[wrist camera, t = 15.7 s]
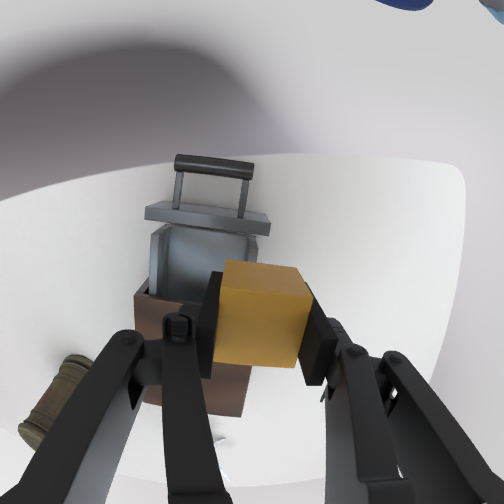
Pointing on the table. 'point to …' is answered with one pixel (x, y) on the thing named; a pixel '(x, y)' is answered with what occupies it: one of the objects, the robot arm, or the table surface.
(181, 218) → the drawer
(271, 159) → the table surface
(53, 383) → the container
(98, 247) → the table surface
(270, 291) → the block
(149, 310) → the cabinet
